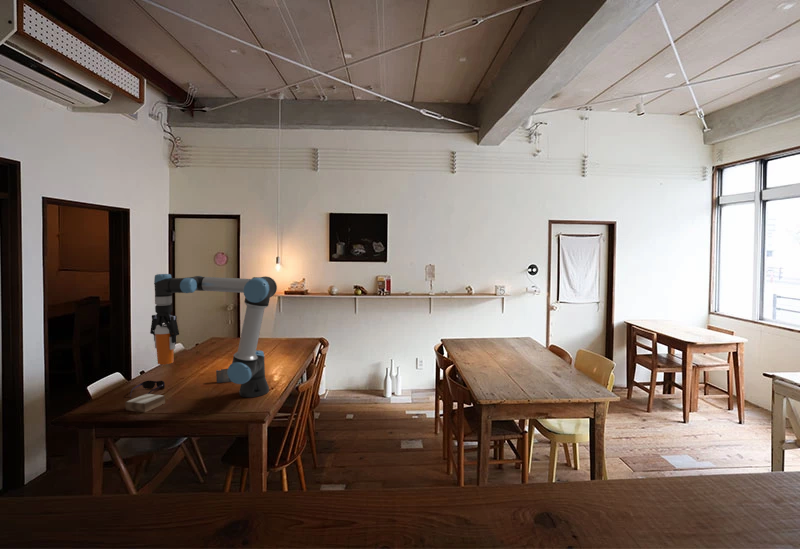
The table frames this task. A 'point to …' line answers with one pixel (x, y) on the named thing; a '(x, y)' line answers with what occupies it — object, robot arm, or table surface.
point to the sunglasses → (151, 385)
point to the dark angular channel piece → (222, 376)
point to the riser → (145, 402)
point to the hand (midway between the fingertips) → (165, 348)
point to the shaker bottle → (163, 345)
